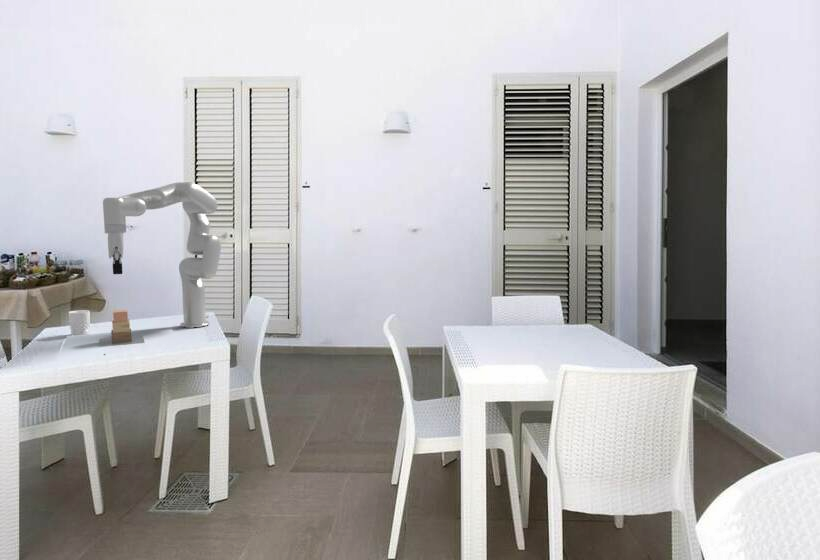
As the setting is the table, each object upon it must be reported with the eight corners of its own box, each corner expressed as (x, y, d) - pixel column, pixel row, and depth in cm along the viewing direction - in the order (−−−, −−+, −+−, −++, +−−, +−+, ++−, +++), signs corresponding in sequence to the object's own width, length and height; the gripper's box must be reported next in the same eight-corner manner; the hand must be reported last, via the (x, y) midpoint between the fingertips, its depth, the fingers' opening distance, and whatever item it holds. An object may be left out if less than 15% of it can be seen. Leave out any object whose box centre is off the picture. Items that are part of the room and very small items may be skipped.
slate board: (99, 341, 230) (99, 338, 229) (143, 337, 237) (143, 334, 237) (98, 349, 215) (98, 346, 215) (144, 345, 223) (144, 342, 223)
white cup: (66, 336, 238) (65, 313, 236) (74, 332, 245) (72, 310, 244) (87, 336, 239) (85, 312, 238) (93, 332, 247) (92, 309, 246)
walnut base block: (111, 339, 228) (111, 330, 227) (131, 338, 231) (130, 328, 230) (111, 343, 221) (111, 333, 221) (131, 341, 225) (131, 331, 224)
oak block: (112, 330, 227) (112, 320, 226) (129, 328, 230) (128, 319, 229) (112, 333, 222) (112, 322, 221) (130, 331, 224) (129, 321, 224)
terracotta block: (113, 320, 226) (112, 310, 226) (127, 319, 228) (126, 309, 228) (113, 322, 222) (113, 312, 221) (127, 321, 224) (127, 311, 224)
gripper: (104, 229, 227) (107, 271, 229) (104, 230, 211) (106, 275, 213) (125, 228, 230) (128, 270, 232) (126, 229, 215) (128, 274, 217)
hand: (117, 272), depth 223 cm, fingers open, 9 cm apart
